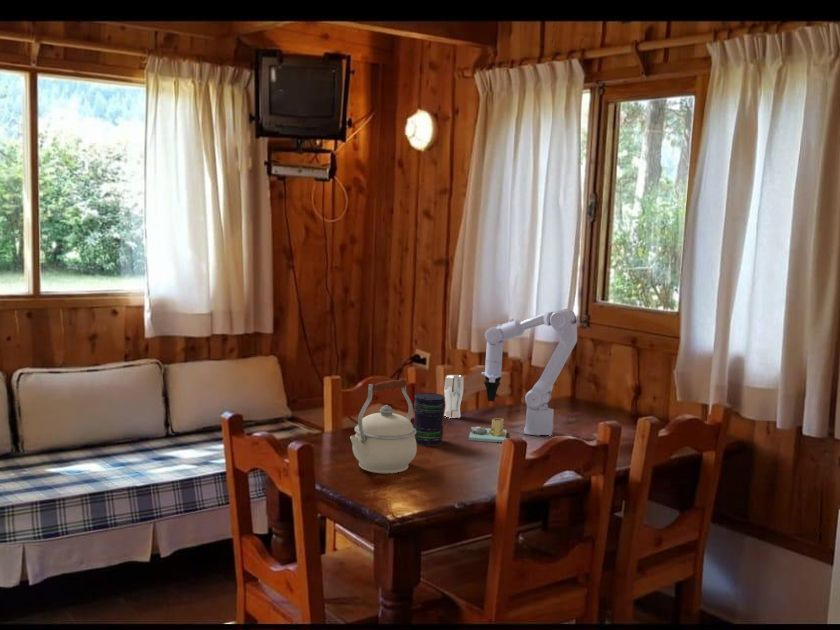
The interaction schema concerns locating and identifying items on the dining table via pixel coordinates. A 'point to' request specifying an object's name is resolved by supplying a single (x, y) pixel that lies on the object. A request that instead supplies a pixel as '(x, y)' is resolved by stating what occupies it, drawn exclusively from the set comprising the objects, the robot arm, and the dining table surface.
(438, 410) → the storage jar
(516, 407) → the dining table surface
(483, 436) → the carrier plate
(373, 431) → the kettle
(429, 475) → the dining table surface
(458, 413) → the beer glass
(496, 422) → the planet gear
